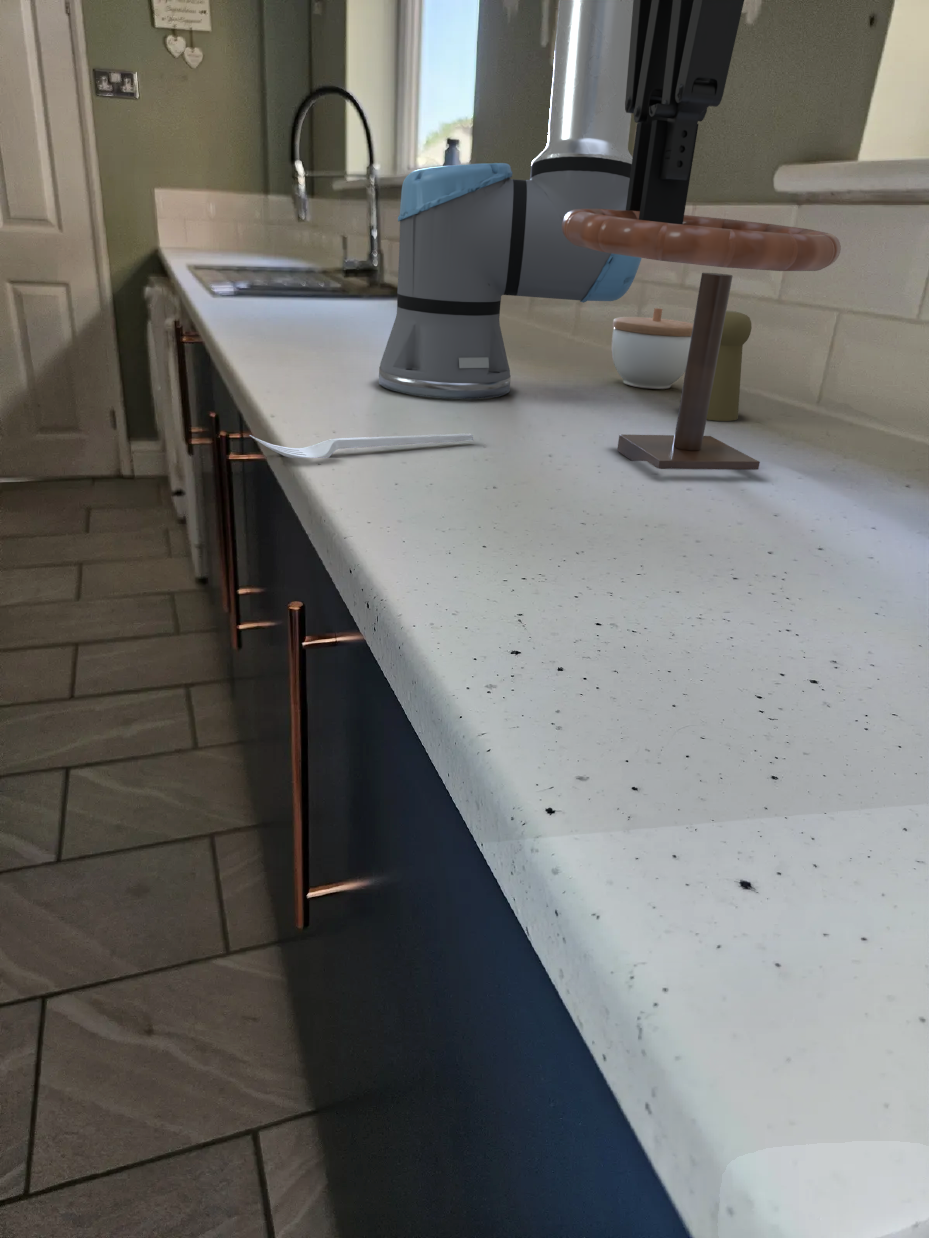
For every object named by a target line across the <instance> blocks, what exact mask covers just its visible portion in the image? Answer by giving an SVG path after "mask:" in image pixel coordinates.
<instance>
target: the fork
mask: <svg viewBox="0 0 929 1238" xmlns="http://www.w3.org/2000/svg"><path fill="white" fill-rule="evenodd" d="M249 437H251V438H252V439H254V440H255V441H256V442H258V443H259V444H261V445H263V446H264V447H266V448H267V449H269V450H270V451H273V452H275V453H277V454H279V455H281V456H283V457H286V458H291V459H292V458H293V459H294V458H297V459H298V458H299V459H301V458H302V459H304V458H305V459H310V458H311V459H328V458H330V457H331V456H332V455H333V453H334V452H335V451H337V450H342V449H358V448H374V447H390V446H407V445H421V444H437V443H452V442H453V443H454V442H467V441H469V442H470V441H474V440H475V439H474V435H473V434H472V433H468V432H467V433H443V434H442V433H440V434H419V435H418V434H414V435H391V436H390V435H388V436H363V437H340V438H339V437H337V438H330V439H326V440H323V441H321V442H318V443H315V444H312V445H309V446H305V447H287V446H282V445H277V444H272V443H270V442H268V441H264V440H261V439H259V438H257V437H255V436H253V435H251V434H249Z"/></svg>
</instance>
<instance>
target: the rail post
mask: <svg viewBox="0 0 929 1238" xmlns="http://www.w3.org/2000/svg"><path fill="white" fill-rule="evenodd" d="M699 282H700V283H699V290H698V293H697V300H696V305H695V306H696V307H695V312H694V318H693V322H692V323H693V329H692V335H691V341H690V347H689V353H688V359H687V365H686V371H685V372H684V378H683V383H682V389H681V396H680V401H679V407H678V413H677V419H676V425H675V430H674V434H673V435H672V434H623V433H622V434H621V433H620V434H618V442H617V449H616V451H617V452H618V453H620V454H621V455H623V456H624V457H625V458H627V459H628V460H630V461H631V462H648V463H649V464H651V465H652V466H654V467H655V468H656V469H661V470H662V469H663V470H666V469H667V470H675V469H676V470H759V468H760V463H761V462H760V461H759V460H757V459H756V458H753V457H752V456H750V455H748V454H746V453H744V452H742V451H740V450H738V449H736V448H734V447H732V446H730V445H729V444H726V443H725V442H723V441H721V440H719V439H717V438H715V437H714V436H711V435H705V430H706V424H707V414H708V408H709V403H710V397H711V392H712V386H713V381H714V375H715V370H716V365H717V359H718V354H719V348H720V343H721V337H722V332H723V326H724V321H725V315H726V310H728V303H729V299H730V293H731V287H732V282H733V274H727V273H718V272H702V273H701V276H700V281H699Z"/></svg>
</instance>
